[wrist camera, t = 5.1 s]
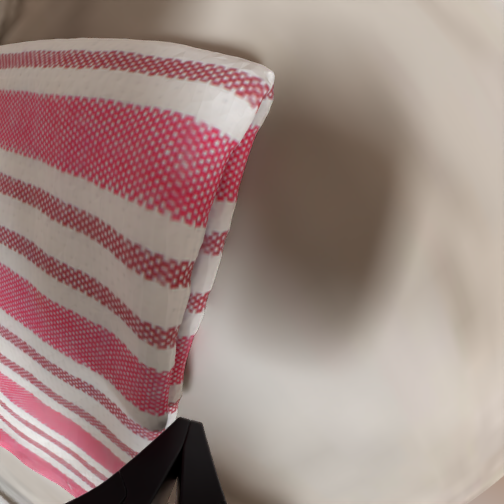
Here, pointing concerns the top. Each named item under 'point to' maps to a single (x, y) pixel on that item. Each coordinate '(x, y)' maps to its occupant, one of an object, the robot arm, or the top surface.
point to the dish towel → (111, 237)
